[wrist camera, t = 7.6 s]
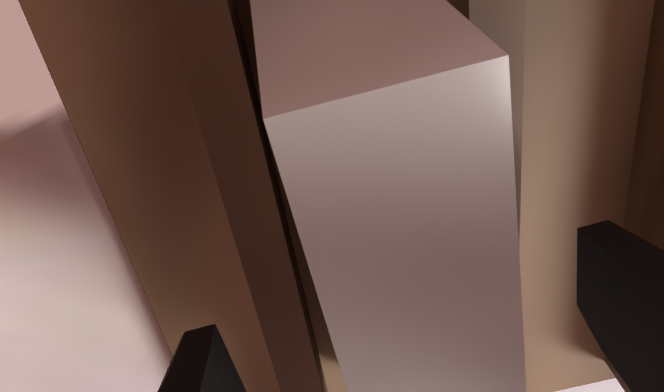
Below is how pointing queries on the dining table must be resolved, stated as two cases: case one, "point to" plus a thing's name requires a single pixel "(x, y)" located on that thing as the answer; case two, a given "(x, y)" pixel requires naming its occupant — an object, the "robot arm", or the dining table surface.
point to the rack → (268, 190)
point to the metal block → (399, 187)
